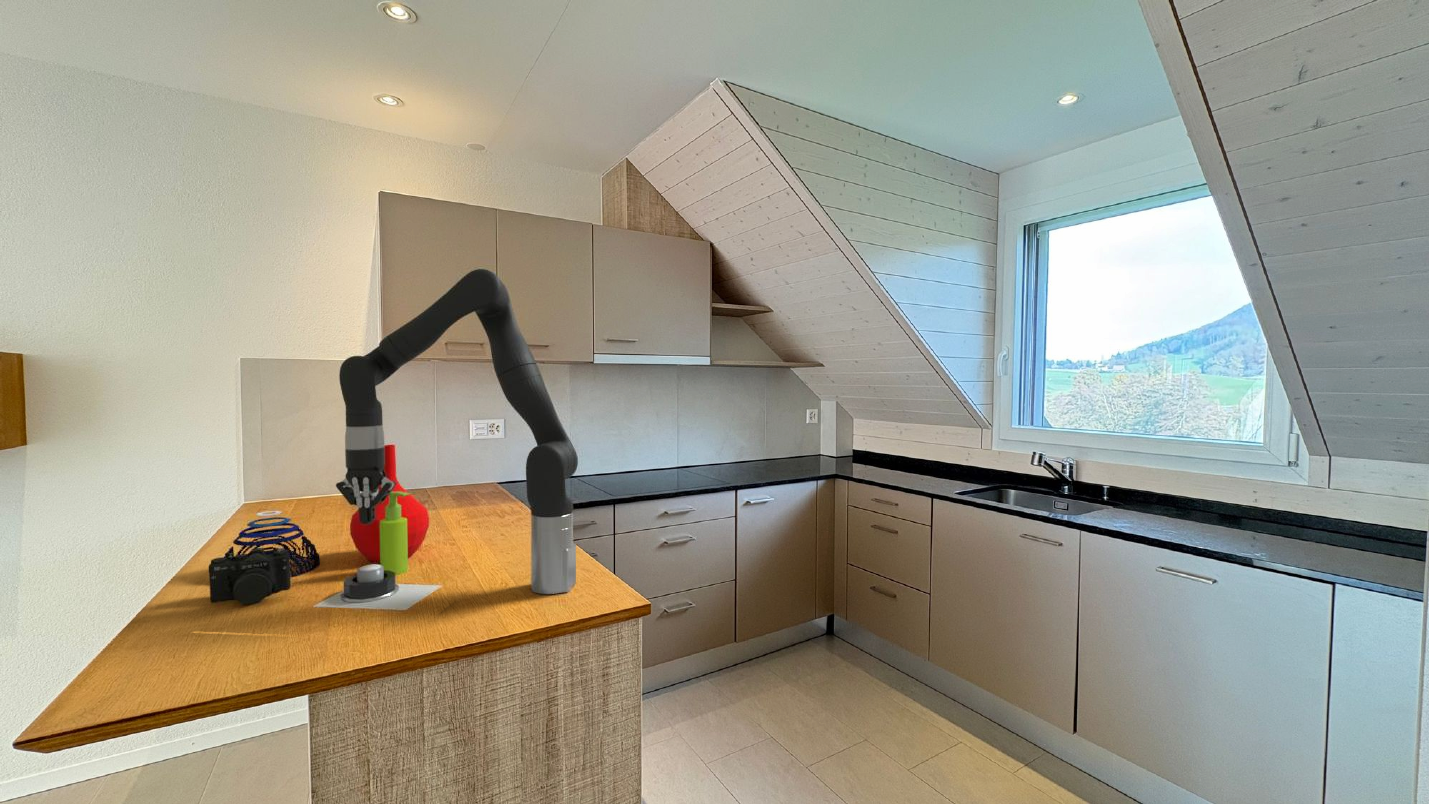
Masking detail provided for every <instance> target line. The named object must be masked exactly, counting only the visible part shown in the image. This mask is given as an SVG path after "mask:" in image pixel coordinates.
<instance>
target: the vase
mask: <svg viewBox="0 0 1429 804" xmlns="http://www.w3.org/2000/svg"><path fill="white" fill-rule="evenodd" d="M384 445H385V466H384V471H385V473H386V478H388V479H389V480H390V481H395V482H396V486H395V487H394V488H393V490H392V491H391V492H394V491H401V492H406V493H409V492H408V491H407V490H406V489H405V488H404V487H403V486H402V485H401V484H400V482H399V480H398V478H397V461H396V460H397V459H396V456H397V455H396V445H395V444H384ZM381 485H382V484H381ZM381 485H380V487H379V488H378V493H379V491H380V490H381V489H382V488H381ZM388 504H389V495H388V496H387V498H386V499H385V500H384V502H383V503H380V504H377V505H376V506H375V520H374V521H373V523H371V524H361V522H360V520H359V508H358V509H357V510H356V511H355V512H354V513H353V514H352V516H351V519H350V523H349V524H350V526H349V529H350V530H349V531H350V537H351V539H352V541H353V543H354V545H355V548H356V550H357V551H358V552H359V553H360V554H361V556H363V557H364V558H366V559H367V560H368V561H370V562H372V563H380V521H381V520H383V519H385V507H386V506H387V505H388ZM397 504H399V505H401V517H403V518H407V540H408V559H409V558H410V557H412V556H413V555H414V554H415V553H416V552H417V551H418V550H419V548H420V547H421V545H422V544H423V542H424V541H425V538H426V536H427V533H428V530H429V527H430V517H429V512H428V509H427V507H425V506H424V505H423V504H422V503H420V502H419V501H418V500H417V499H416V498H415V497H414V496H413V495H412V494H410V495H408V496H405V497H402V496H397Z"/></svg>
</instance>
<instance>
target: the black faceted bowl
mask: <svg viewBox="0 0 1429 804" xmlns="http://www.w3.org/2000/svg"><path fill="white" fill-rule="evenodd" d="M383 571H384V579H382V580H378V581H375V582H368V583H357V573H356V574H353V575H350V576H348V577H346V578H345V579H344V581H343V590H344V592H343V593H342V594H341V600H342V601H344V602H348V603H365V602H372V601H377V600H381V599H384V598H387V597H390V596H392V595H394V594H395V593H397V592H398V591H399V586H398V585H397V584H398V583H396V575H395V572H392V571H387V570H383Z"/></svg>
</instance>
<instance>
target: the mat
mask: <svg viewBox="0 0 1429 804" xmlns="http://www.w3.org/2000/svg"><path fill="white" fill-rule="evenodd" d="M396 584H397V585H398V586H399V591H398V592H397V593H395V594H394V595H392V596H390V597H387V598H384V599H381V600H377V601H372V602H365V603H348V602H344V601H342V600H341V594H342V593H343V592H344V589H343V590H342V591H339V592H338V593H336V594H333V595H332V596H330V597H328V598H327V599H325V600H323V601H321V602H318V603H316V604H315V605H313V606H312V608H318V607H319V608H334V609H336V608H338V609H340V608H341V609H366V610H367V609H371V610H391V611H392V610H394V611H397V610H398V611H406V610H408V609H409V608H411V607H413V606H414V605H416V604H417V603H419V602H420V601H422V600H423V599H425V598H426V597H427V596H429V595H431V594H433V592H435V591H437V590H438V589H439V588H441V587H443V585H440V584H439V585H437V584H410V583H409V584H407V583H405V584H404V583H396Z"/></svg>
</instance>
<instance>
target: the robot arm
mask: <svg viewBox="0 0 1429 804" xmlns="http://www.w3.org/2000/svg"><path fill="white" fill-rule="evenodd" d="M474 312H475V314H476V316H477V317H478V319H479V321H480V323H481V325H482V327H483V330H484V332H485V334H486V336H487V340H488V342H489V348H490V352H491V359H492V364H493V369H494V372H495V375H496V378H497V381H498V383H499V386H500V387H501V391H502V392H503V394H504V397H505V399H506V400H507V402H508V403H509V404H510V405H511V407H512V408H513V409H514V411H515V412H516V413H517V414H518V415H519V416H520V417H521V418H522V419H523V421H524V422H525V424H527V426H528V427H529V429H530V431H531V433H532V435H533V438H534V440H535V443H536V446H535V447H533V448H532V449H531V450H530V451H529V453H528V455H527V457H526V462H525V485H526V497H527V502H528V505H529V507H530V553H531V554H530V559H531V560H530V569H531V570H530V571H531V576H530V577H531V579H530V582H531V585H530V586H531V587H530V588H531V590H532V592H533V593H536V594H539V595H540V594H541V595H553V594H560V593H561V594H562V593H569V592H570V591H571V589H572V588H573V587H574V586H575V585H576V584H577V544H576V542H574V502H573V500H572V498H570V497H569V496H568V495H567V491H566V480H568V479H569V478H571V477H572V476H573V475H574V474H575V473H576V471H577V468H578V465H579V460H578V454H577V452H576V449H575V447H574V445H573V443H572V442H571V441H572V440H571V439H570V437H569V436H568V434H567V431H566V430H565V428H564V426H563V425H562V423H561V420H560V418H559V416H558V414H557V412H556V410H555V407H554V406H555V405H554V403H553V402H552V399H551V396H550V394H549V392H548V389H547V387H546V385H545V381H544V379H543V376H542V373H541V372H540V369H539V365H538V364H537V362H536V359H535V358H534V355H533V353H532V351H531V349H530V347H529V345H528V343H527V341H526V340H525V338H524V336H523V334H522V332H521V330H520V327H519V325H518V322H517V320H516V319H517V318H516V317H515V313H514V311H513V306H512V302H511V299H510V296H509V291H508V289H507V287H506V284H504V283H503V281H502V280H501V279H500V278H499V277H498V275H497V274H496V273H494V272H493V271H492V270H489V269H485V268H477V269H474V270H471V271H469V272H468V273H466V274H465V275H464V276H463V277H462V278H461V279H460V280H458V281H457V282H456V283H455V284H454V285H453V286H452V287H451V288H450V289H449V290H448V291H446V293H444V294H443V295H442V296H441V297H439V298H438V299H437V300H436V301H435V302H434V303H432V304H431V305H430V306H429V307H427V308H426V309H425V310H424V311H422V312H421V313H419V314H418V315H417V316H416V317H414V318H413V319H411V320H410V321H408V322H407V323H405V324H403V325H402V326H400V327H399V328H397V329H396V330H394V331H393V332H391V333H389V334H388V335H387V336H385V337H384V338H383V339H381V340H380V342H379V344H378V346H377V347H376V348H374V349H373V350H371V351H370V352H369V353H367V354H366V355H353V356H349V357H348V358H346V359H344V361H342V364H341V366H340V369H339V376H338V377H339V385H340V389H341V394H342V398H343V401H344V405H345V435H344V445H345V446H344V447H345V448H344V450H345V451H344V453H345V454H344V457H345V468H346V469H347V472H346V473H345V478H344V479H342V480H341V481H339V482H337V483H336V484H335V487H336V488H337V490H338V491H339V492H340V494H341V495H342V496H343V497H344V498H345V500H346V502H348V504H349V505H350V506H357V508H358V509H359V520H360V522H361V524H371V523H373V521H374V520H375V506H376V505H377V504H380V503H383V502H384V500H385V499H386V498H387V496H388V495H389V494H390V492H391V491H392V490H393V488H394V487H395V486H396V482H395V481H390V480H389V479H388V478H386V473H385V471H384V466H385V445H386V444H385V432H384V426H383V425H384V424H383V407H382V403H381V401H379V399H378V398H377V388H376V386H378V385H380V384H382V383H384V382H385V381H386V380H388V379H389V378H390V377H391V376H392V375H393V374H394V373H396V372H397V371H398V370H400V368H401V367H402V366H404V365H405V364H407V363H409V362H411V361H413V360H414V359H415V358H417V357H419V356H420V355H421V354H423V353H424V352H426V351H427V350H429V349H430V348H431V347H432V346H433V345H434V344H435V343H436V342H437V341H438V340H439V339H440V338H441V337H442V336H443V335H444V333H445V332H446V331H448V330H449V328H450V327H451V326H453V325H454V324H455V323H457V322H458V321H459V320H462V318H464V317H465V316H468V315H470V314H472V313H474ZM381 484H382V485H381ZM380 485H381V488H382V489H381V490H380V491H379V493H378V488H379V487H380ZM575 583H576V584H575ZM574 584H575V585H574ZM572 586H573V587H572ZM569 590H570V591H569ZM568 591H569V592H568Z"/></svg>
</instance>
